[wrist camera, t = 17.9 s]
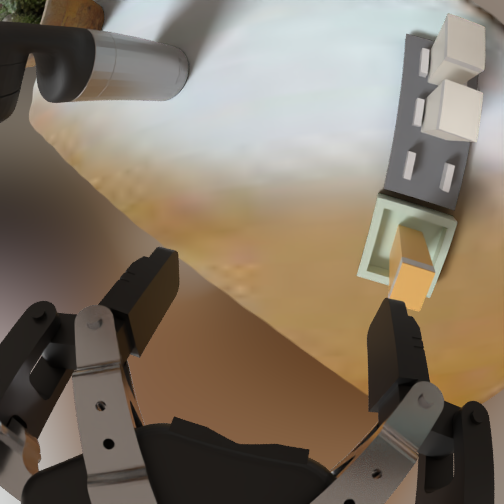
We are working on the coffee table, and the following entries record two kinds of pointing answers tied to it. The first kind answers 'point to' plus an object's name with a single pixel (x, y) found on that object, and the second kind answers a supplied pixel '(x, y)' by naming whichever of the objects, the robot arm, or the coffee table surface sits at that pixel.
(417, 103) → the fuse block
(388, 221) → the tray
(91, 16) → the potted plant
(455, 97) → the block
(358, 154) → the coffee table surface
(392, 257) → the block
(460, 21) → the end white fuse
